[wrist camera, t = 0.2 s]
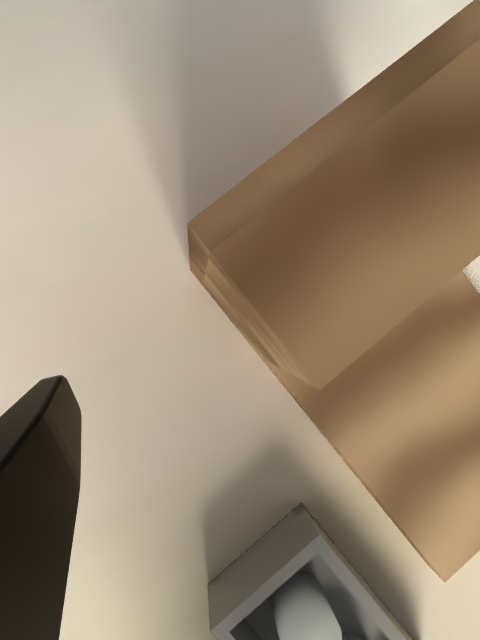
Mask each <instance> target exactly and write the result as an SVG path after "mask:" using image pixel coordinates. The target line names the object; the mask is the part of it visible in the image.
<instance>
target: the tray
mask: <svg viewBox="0 0 480 640" xmlns="http://www.w3.org/2000/svg"><path fill="white" fill-rule="evenodd" d="M208 600H209V619H210V632H211V633H212V634H213V635H214V637H215V638H216V639H217V640H413V639H412V637H411V636H410V635H409V634H408V633H407V631H406V630H405V629H404V628H403V626H402V625H401V624H400V623H399V622H398V620H397V619H396V618H395V617H394V615H393V614H392V613H391V612H390V611H389V609H388V608H387V607H386V606H385V605H384V603H383V602H382V601H381V600H380V598H379V597H378V596H377V595H376V594H375V592H374V591H373V590H372V589H371V587H370V586H369V585H368V584H367V583H366V581H365V580H364V579H363V578H362V576H361V575H360V574H359V573H358V572H357V570H356V569H355V568H354V567H353V566H352V564H351V563H350V562H349V561H348V559H347V558H346V557H345V556H344V555H343V553H342V552H341V551H340V550H339V548H338V547H337V546H336V545H335V544H334V542H333V541H332V540H331V539H330V537H329V536H328V535H327V534H326V533H325V531H324V530H323V529H322V528H321V527H320V525H319V524H318V523H317V522H316V520H315V519H314V518H313V517H312V516H311V514H310V513H309V512H308V511H307V509H306V508H305V507H304V506H303V505H302V503H301V504H300V505H298V506H297V507H296V508H295V509H294V510H293V511H292V512H290V513H289V514H288V515H287V516H286V517H285V518H284V519H282V520H281V521H280V522H279V523H278V524H277V525H276V526H274V527H273V528H272V529H271V530H270V531H269V532H267V533H266V534H265V535H264V536H263V537H262V538H261V539H259V540H258V541H257V542H256V543H255V544H254V545H253V546H251V547H250V548H249V549H248V550H247V551H246V552H245V553H243V554H242V555H241V556H240V557H239V558H238V559H236V560H235V561H234V562H233V563H232V564H231V565H230V566H228V567H227V568H226V569H225V570H224V571H223V572H222V573H220V574H219V575H218V576H217V577H216V578H215V579H214V580H212V581H211V582H210V583H209V584H208Z"/></svg>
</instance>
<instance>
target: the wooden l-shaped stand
mask: <svg viewBox="0 0 480 640" xmlns="http://www.w3.org/2000/svg"><path fill="white" fill-rule="evenodd" d="M187 228H188V241H189V255H190V268H191V271H192V273H193V274H194V275H195V276H196V278H197V279H198V280H199V281H200V283H201V284H202V285H203V286H204V288H205V289H206V290H207V291H208V292H209V294H210V295H211V296H212V297H213V299H214V300H215V301H216V302H217V304H218V305H219V306H220V307H221V309H222V310H223V311H224V312H225V314H226V315H227V316H228V317H229V319H230V320H231V321H232V322H233V324H234V325H235V326H236V327H237V328H238V330H239V331H240V332H241V333H242V335H243V336H244V337H245V338H246V340H247V341H248V342H249V343H250V345H251V346H252V347H253V348H254V350H255V351H256V352H257V353H258V355H259V356H260V357H261V358H262V360H263V361H264V362H265V363H266V364H267V366H268V367H269V368H270V369H271V371H272V372H273V373H274V374H275V376H276V377H277V378H278V379H279V381H280V382H281V383H282V384H283V386H284V387H285V388H286V389H287V391H288V392H289V393H290V394H291V396H292V397H293V398H294V399H295V400H296V402H297V403H298V404H299V405H300V407H301V408H302V409H303V410H304V412H305V413H306V414H307V415H308V417H309V418H310V419H311V420H312V422H313V423H314V424H315V425H316V427H317V428H318V429H319V430H320V432H321V433H322V434H323V435H324V436H325V438H326V439H327V440H328V441H329V443H330V444H331V445H332V446H333V448H334V449H335V450H336V451H337V453H338V454H339V455H340V456H341V458H342V459H343V460H344V461H345V463H346V464H347V465H348V466H349V468H350V469H351V470H352V471H353V472H354V474H355V475H356V476H357V477H358V479H359V480H360V481H361V482H362V484H363V485H364V486H365V487H366V489H367V490H368V491H369V492H370V494H371V495H372V496H373V497H374V499H375V500H376V501H377V502H378V504H379V505H380V506H381V507H382V508H383V510H384V511H385V512H386V513H387V515H388V516H389V517H390V518H391V520H392V521H393V522H394V523H395V525H396V526H397V527H398V528H399V530H400V531H401V532H402V533H403V535H404V536H405V537H406V538H407V539H408V541H409V542H410V543H411V544H412V546H413V547H414V548H415V549H416V551H417V552H418V553H419V554H420V556H421V557H422V558H423V559H424V561H425V562H426V563H427V564H428V566H429V567H430V568H431V569H432V570H433V571H434V572H435V573H436V574H437V575H438V576H439V577H440V578H441V579H442V580H443V581H444V582H446V581H447V580H448V579H449V578H450V577H451V576H452V575H453V574H454V573H456V572H457V571H458V570H459V569H460V568H461V567H462V566H463V565H464V564H465V563H466V562H467V561H469V560H470V559H471V558H472V557H473V556H474V555H475V554H476V553H477V552H478V551H479V550H480V294H479V293H478V292H477V290H476V289H475V288H474V286H473V285H472V284H471V282H470V281H469V280H468V278H467V277H466V276H465V274H464V273H463V272H462V271H461V270H463V269H464V268H465V267H466V266H467V265H468V264H470V263H471V262H472V261H473V260H474V259H476V258H477V257H478V256H479V255H480V3H479V1H478V0H474V1H473V2H471V3H470V4H469V5H467V6H466V7H465V8H464V9H462V10H461V11H460V12H458V13H457V14H456V15H455V16H453V17H452V18H451V19H449V20H448V21H447V22H446V23H444V24H443V25H442V26H440V27H439V28H438V29H437V30H435V31H434V32H433V33H431V34H430V35H429V36H428V37H426V38H425V39H424V40H422V41H421V42H420V43H419V44H417V45H416V46H415V47H413V48H412V49H411V50H410V51H408V52H407V53H406V54H404V55H403V56H402V57H401V58H399V59H398V60H397V61H395V62H394V63H393V64H392V65H390V66H389V67H388V68H387V69H385V70H384V71H383V72H381V73H380V74H379V75H378V76H376V77H375V78H374V79H372V80H371V81H370V82H369V83H367V84H366V85H365V86H363V87H362V88H361V89H360V90H358V91H357V92H356V93H354V94H353V95H352V96H351V97H349V98H348V99H347V100H345V101H344V102H343V103H342V104H340V105H339V106H338V107H336V108H335V109H334V110H333V111H331V112H330V113H329V114H327V115H326V116H325V117H324V118H322V119H321V120H320V121H318V122H317V123H316V124H315V125H313V126H312V127H311V128H309V129H308V130H307V131H306V132H304V133H303V134H302V135H300V136H299V137H298V138H297V139H295V140H294V141H293V142H291V143H290V144H289V145H288V146H286V147H285V148H284V149H282V150H281V151H280V152H279V153H277V154H276V155H275V156H273V157H272V158H271V159H270V160H268V161H267V162H266V163H264V164H263V165H262V166H261V167H259V168H258V169H257V170H255V171H254V172H253V173H252V174H250V175H249V176H248V177H246V178H245V179H244V180H243V181H241V182H240V183H239V184H237V185H236V186H235V187H234V188H232V189H231V190H230V191H228V192H227V193H226V194H225V195H223V196H222V197H221V198H220V199H218V200H217V201H216V202H214V203H213V204H212V205H211V206H209V207H208V208H207V209H205V210H204V211H203V212H202V213H200V214H199V215H198V216H196V217H195V218H194V219H193V220H191V221H190V222H189V223H187Z"/></svg>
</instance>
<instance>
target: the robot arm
mask: <svg viewBox="0 0 480 640" xmlns="http://www.w3.org/2000/svg"><path fill="white" fill-rule="evenodd" d="M80 476H81V410H80V407H79V404H78V402H77V400H76V398H75V396H74V393H73V391H72V389H71V387H70V385H69V382H68V380H67V379H66V378H65V377H64V376H62V375H59V376H54V377H50V378H45V379H42V380H40V381H39V382H38V383H37V384H36V385H35V386H34V387H33V388H31V389H30V390H29V391H28V392H27V393H26V394H25V395H24V396H23V397H22V398H20V399H19V400H18V401H17V402H16V403H15V404H14V405H13V406H12V407H11V408H9V409H8V410H7V411H6V412H5V413H4V414H3V415H2V416H1V417H0V640H59V634H60V627H61V620H62V613H63V605H64V598H65V591H66V584H67V577H68V570H69V563H70V556H71V549H72V542H73V535H74V528H75V521H76V514H77V507H78V500H79V491H80Z"/></svg>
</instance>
